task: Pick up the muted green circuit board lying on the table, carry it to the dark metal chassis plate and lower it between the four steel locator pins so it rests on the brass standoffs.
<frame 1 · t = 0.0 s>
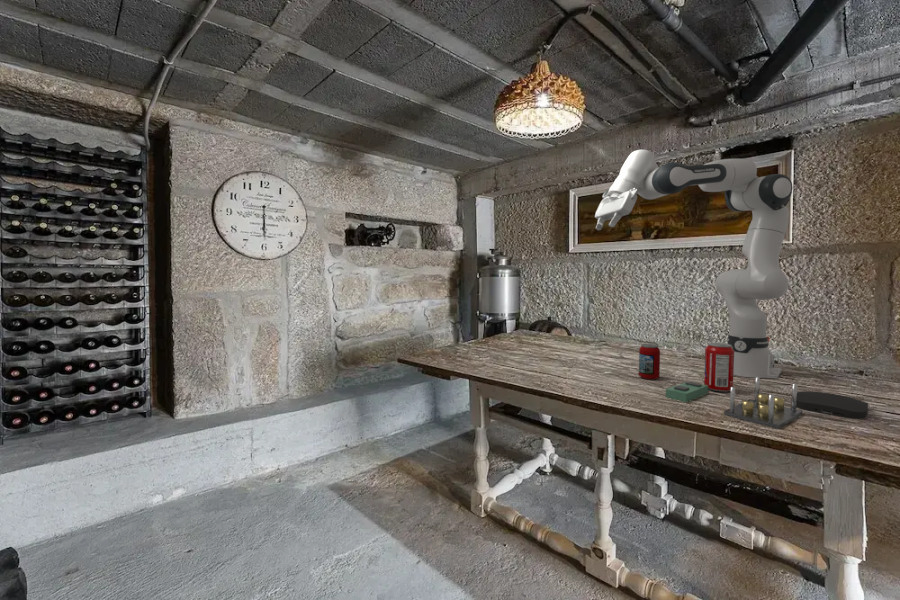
hand: (604, 227, 140), 54 cm above the table, tool tilted 30°, fingers open, 8 cm apart
board: (687, 396, 124), on the table
chassis: (762, 414, 107), on the table
soda can: (718, 390, 130), on the table
beverage can: (648, 378, 145), on the table
media streaming box: (829, 409, 112), on the table
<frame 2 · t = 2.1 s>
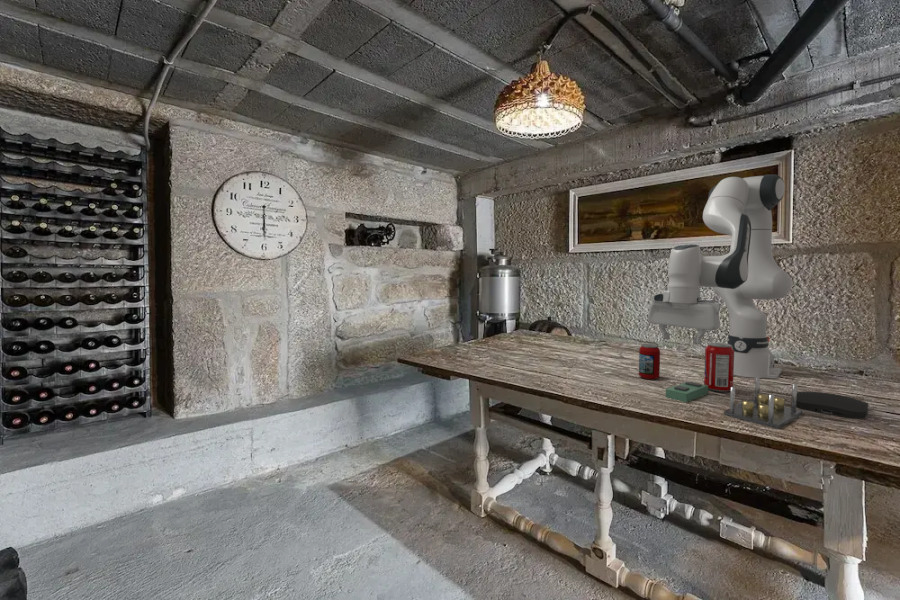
hand: (681, 341, 124), 17 cm above the table, tool pointing down, fingers open, 8 cm apart
nothing on the table moved.
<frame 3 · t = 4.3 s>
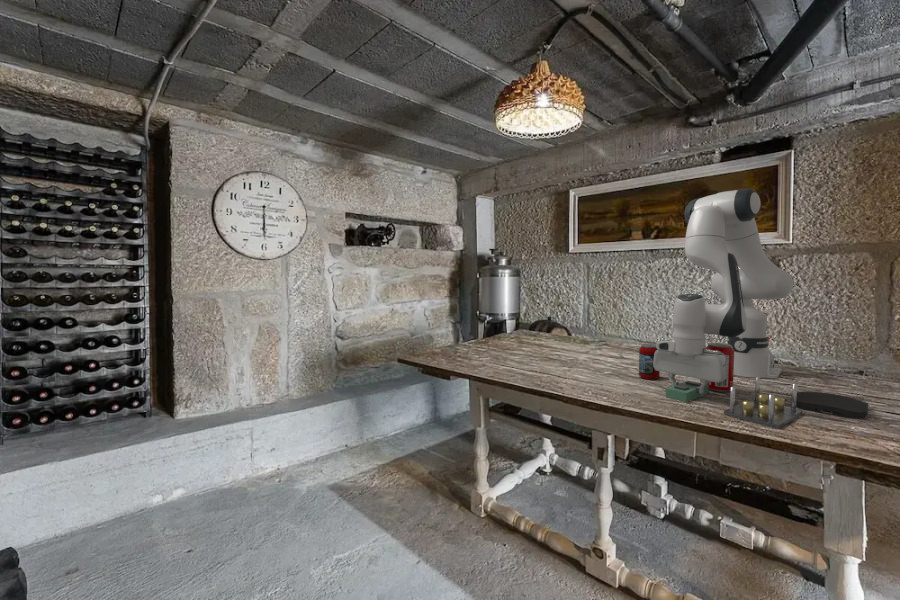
hand: (687, 390, 124), 2 cm above the table, tool pointing down, fingers closed on board, 6 cm apart
board: (687, 395, 124), on the table, touching gripper
everything else where it was.
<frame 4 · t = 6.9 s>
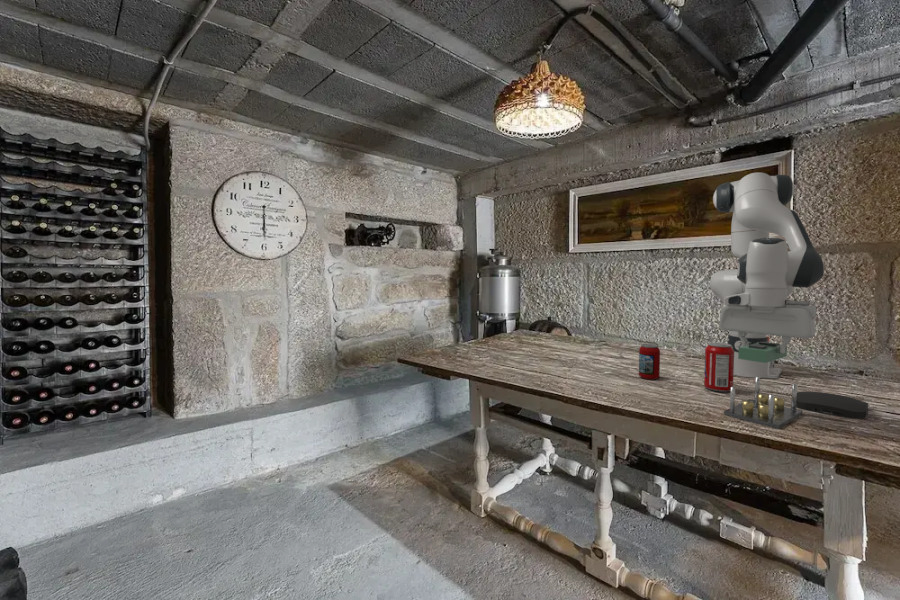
hand: (763, 350, 106), 17 cm above the table, tool pointing down, fingers closed on board, 6 cm apart
board: (762, 357, 106), point 16 cm above the table, touching gripper
everything else where it was.
when the fingers open (7 cm above the table, at t = 8.8 s): board drops 1 cm, resting on chassis.
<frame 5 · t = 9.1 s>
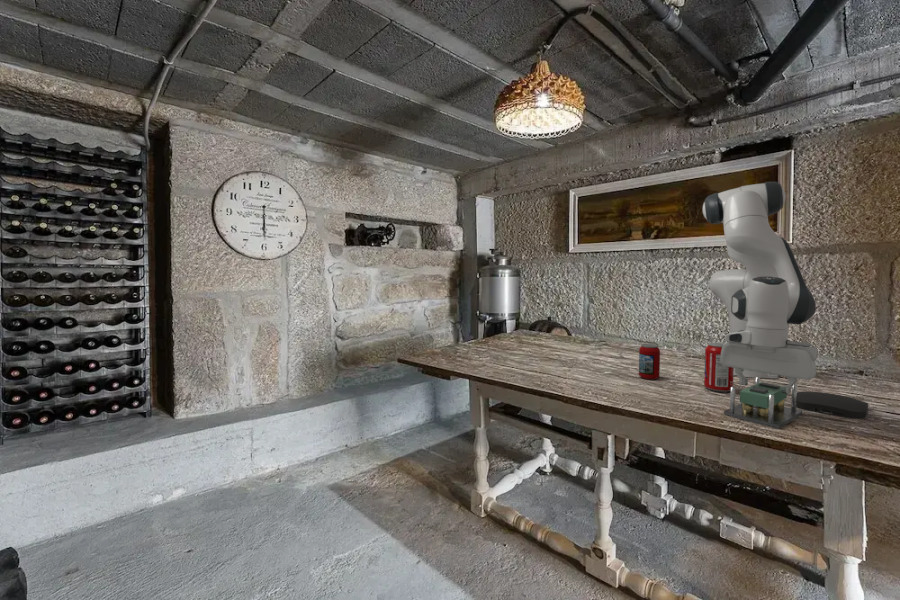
hand: (764, 388, 107), 7 cm above the table, tool pointing down, fingers open, 8 cm apart
board: (763, 400, 107), point 4 cm above the table, touching chassis
everything else where it was.
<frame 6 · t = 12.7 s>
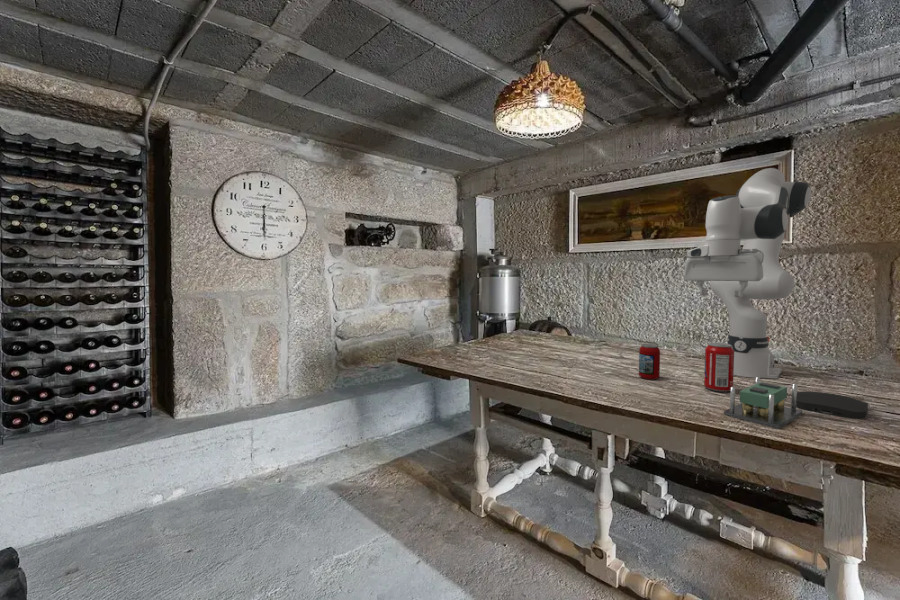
hand: (720, 296, 120), 31 cm above the table, tool pointing down, fingers open, 8 cm apart
nothing on the table moved.
at the end: board 0.1 cm off-centre on the chassis, point 4.0 cm above the chassis's base; board tilted 0°; the gripper is holding nothing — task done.
